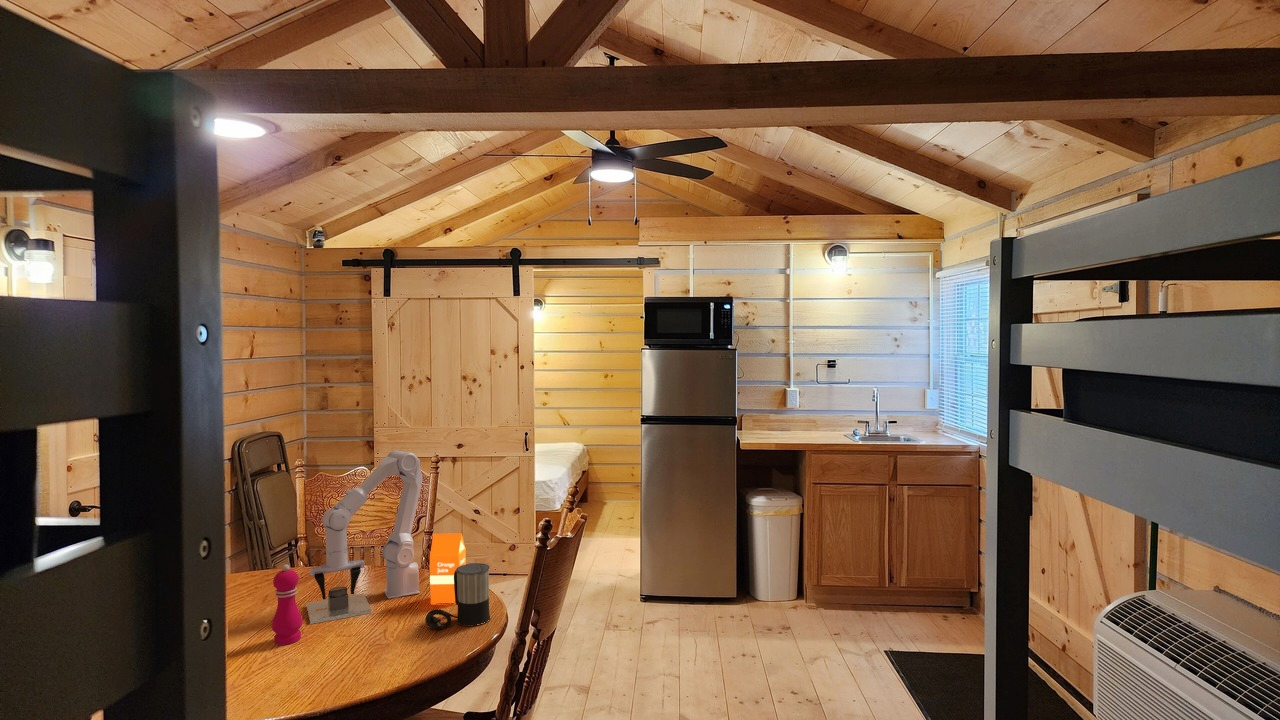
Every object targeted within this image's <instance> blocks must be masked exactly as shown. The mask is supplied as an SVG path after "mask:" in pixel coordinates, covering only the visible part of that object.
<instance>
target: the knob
mask: <svg viewBox="0 0 1280 720" xmlns="http://www.w3.org/2000/svg"><path fill="white" fill-rule="evenodd" d="M348 596H349V593H348V587H347V586H336V587H331V588H329V589H328V593H327V600H328V606H329V610H330V611H332V610H337V609H343V608H348V607H349V605H348Z"/></svg>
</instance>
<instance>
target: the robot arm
mask: <svg viewBox="0 0 1280 720" xmlns="http://www.w3.org/2000/svg"><path fill="white" fill-rule="evenodd" d="M420 465H421V460H420V458H418V457H417V455H416V454H415V453H413V452H409V451H408V452H406V451H401V450H399V449H394V450H392V451H389V453H388V454H387V455H386V456H385V457H384V458H382V460H381V462H380V463H379V464H378V466H377V467H376V468H375V469H373V471H372V472H371V473H370V474H369V475H368V476H367V478H366V479H365V480H364V481H363V482H362V483H361V484H360V486H358V487H354V488H351V489H348V490H346V491H345V495H344V496H343V497H342V498H341V499H340V500H339V501H338V502H337V503H334V504H333V507H331V508H329V509H327V510H326V511H324V514H323V516H322V518H321V519H320V520H321V524H322V525H323V526H324V527H325V553H326V554H325V555H326V564H322V565H319V566H315V567H310V568H309V575H310V577H314V580H315V581H316V583H317V585H318V586H319V589H320V592H321V597H322V600H327V596H326V589H325V588H326V587H325V585H326V584H325V583H326V581H325V580H326V579H325V574H330V573H336V572H342V571H343V572H344V571H348V570H349V572H350V575H349V576H350V595H355V590H356V585H357V582H358V580H359V577H360V575H361V572H362V570H361V569H364V568H365V561H364V559H359V560H348V558H349V557H348V555H349V554H348V533H347V527H348V526H349V524H350V522H351V518H352V517H353V516H354V515H355V513H357V512H358V511H359V510H360V509H361V508H362V506H364V505H365V504H366V503H367V501H368V495H369V494H371V492H372V491H373V490H374V489H376V488H377V487H378V486H380V484H381V483H382V482H383V481H384V480H386V479H387V478H388V477H392V476H396V475H397V476H399V477H400V479H401V480H402V482H403V485H402V490H401V495H400V499H399V504H398V507H397V512H396V518H395V522H394V527H393V531H392V533H391V534H389V536H388V537H387V541H386V543H385V544H384V546H383V548H382V552H381V553H382V555H381V556H382V557H383V559H384V560H386V561H385V562H386V563H385V573H386V578H385V579H386V589H384V590H383V593H384V595H385V596H386V598H387V599H395V598H400V597H406V596H410V595H416V594H420V592H421V591H420V576H419V575H420V571H419V565H418V562H417V561H416V562H415V561H414V562H412V561H413V560H414V557H415V551H414V544H415V543H414V538H413V536H412V531H413V527H414V523H415V519H416V518H415V516H416V514H417V508H418V503H419V498H420V493H421V488H422V484H423V478H424V477H423V473H422V469H421V466H420Z"/></svg>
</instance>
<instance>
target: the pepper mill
mask: <svg viewBox="0 0 1280 720" xmlns="http://www.w3.org/2000/svg"><path fill="white" fill-rule="evenodd" d="M299 581H300V577H299V574H298V573H297V571H295V570H293V569H290V565H289V564H283V565H282V566H281V570H280V571H279V572H277V573H276V574H275V575H274V577H273V580H272V582H273V583H272V584H273V585H272V586H273V587H274V588H275V589H276V590H275V597H277V607H276V610H275V612H274V616H273V618H272V622H271V630H272V631H273V632H274V633H275V634H274V636H273V638H274V639H273V640H274V641H273V643H274V644H275V645H276V644H277V646H286V645H292V644H294V643H297V642H299V641H300V640H301V638H302V634H301V633H302V632H301V630H300V629H301V627H303V617H302V613H301V612H300V610H299V608H298V606H297V602H296V594H297V593H298V591H297V589H298V588H297V586H298V584H299Z"/></svg>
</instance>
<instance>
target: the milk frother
mask: <svg viewBox="0 0 1280 720" xmlns="http://www.w3.org/2000/svg"><path fill="white" fill-rule="evenodd" d="M489 569H490V565H489V564H486V563H481V562H474V563H473V562H472V563H470V562H469V563H466V564H465V565H461V566H459V567H457V568H456V570H455V572H454V591H455V603H456V604H455V605H457V616H455V615H453V614H451V613H449V612H448V611H446V610H443V609H431V610H429V612H427V614H426V615H425V619H424V620H425V624H426V626H428V627H429V628H431V629H433V630H442V629H446V628H448V627H449V626H450V625H451V624H452V620H453V619H452V618H455V619H456V623H457V624H458V625H459V624H460V626H462V625H464V626H463V627H472V626H471V625H477V624H481V623H484V622H487V621H488V620H489V621H490V620H491V618H490V617H491V616H490V614H491V613H490V576H489V575H490V571H489ZM436 615H438V616H443V617H444V618H446V621H445V622H444V623H441V621H442V620H441V619H440V618H438V617H437V616H436ZM489 621H488V622H489ZM488 622H487V623H488ZM468 625H470V626H468ZM477 626H478V625H477Z"/></svg>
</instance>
